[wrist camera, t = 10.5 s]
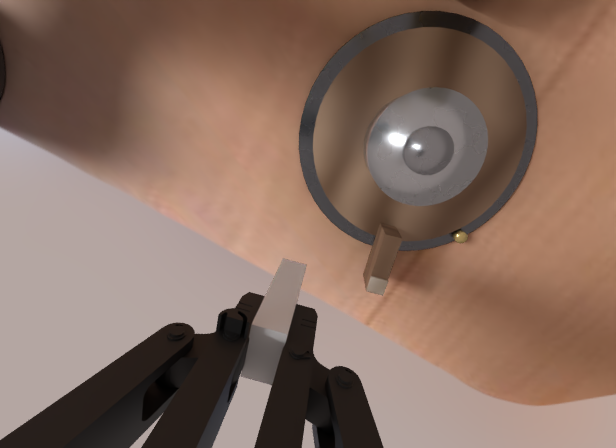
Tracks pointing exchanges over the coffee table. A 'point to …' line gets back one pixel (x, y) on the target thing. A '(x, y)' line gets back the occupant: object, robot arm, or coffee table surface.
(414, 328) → the coffee table surface
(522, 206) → the coffee table surface
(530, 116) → the susan base
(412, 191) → the cover
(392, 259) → the platter
